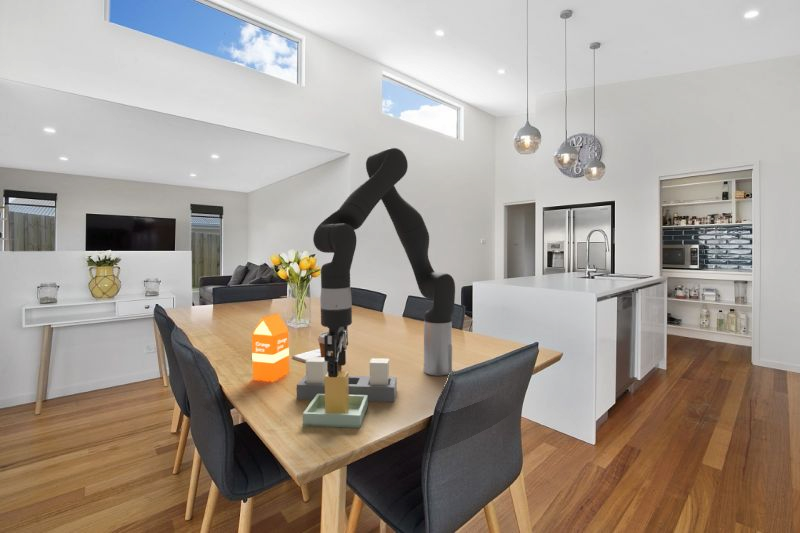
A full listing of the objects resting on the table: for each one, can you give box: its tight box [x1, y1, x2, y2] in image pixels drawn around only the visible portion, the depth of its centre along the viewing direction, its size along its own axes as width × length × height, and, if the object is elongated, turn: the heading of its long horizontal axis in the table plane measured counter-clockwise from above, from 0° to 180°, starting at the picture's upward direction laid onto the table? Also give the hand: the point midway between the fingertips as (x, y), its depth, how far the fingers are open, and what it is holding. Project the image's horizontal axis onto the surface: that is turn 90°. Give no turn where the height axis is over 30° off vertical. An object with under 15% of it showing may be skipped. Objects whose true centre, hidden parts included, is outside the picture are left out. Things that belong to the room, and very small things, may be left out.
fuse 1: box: [305, 357, 328, 384], centre depth 105 cm, size 5×4×10 cm
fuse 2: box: [369, 357, 390, 385], centre depth 104 cm, size 5×4×10 cm
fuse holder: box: [296, 374, 398, 403], centre depth 104 cm, size 27×8×4 cm, turn 86°
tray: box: [302, 394, 369, 429], centre depth 92 cm, size 14×12×3 cm
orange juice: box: [251, 312, 290, 383], centre depth 119 cm, size 8×9×20 cm
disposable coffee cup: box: [317, 331, 343, 373], centre depth 126 cm, size 10×10×12 cm
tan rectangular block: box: [325, 370, 350, 413], centre depth 91 cm, size 5×4×10 cm
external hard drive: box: [292, 348, 321, 363], centre depth 141 cm, size 2×8×12 cm
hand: (337, 370), depth 91 cm, fingers open, 8 cm apart
